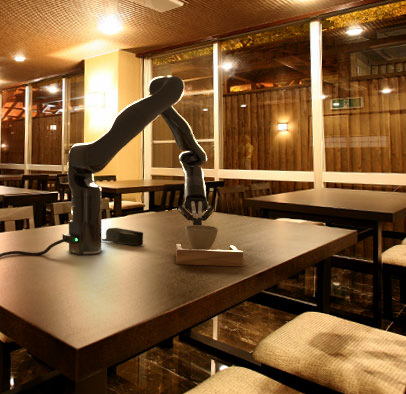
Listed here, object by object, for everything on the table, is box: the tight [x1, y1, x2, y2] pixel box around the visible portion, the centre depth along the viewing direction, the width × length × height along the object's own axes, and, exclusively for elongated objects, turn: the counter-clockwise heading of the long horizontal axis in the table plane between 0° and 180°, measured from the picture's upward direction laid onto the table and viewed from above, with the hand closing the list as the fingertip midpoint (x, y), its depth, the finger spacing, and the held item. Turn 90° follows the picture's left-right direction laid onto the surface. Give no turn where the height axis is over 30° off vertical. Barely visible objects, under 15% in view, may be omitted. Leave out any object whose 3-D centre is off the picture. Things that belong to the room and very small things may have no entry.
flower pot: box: [184, 224, 219, 250], centre depth 125 cm, size 10×10×7 cm
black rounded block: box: [101, 227, 144, 247], centre depth 135 cm, size 5×3×15 cm
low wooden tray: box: [175, 243, 244, 267], centre depth 111 cm, size 10×17×4 cm, turn 82°
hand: (197, 229), depth 135 cm, fingers closed
